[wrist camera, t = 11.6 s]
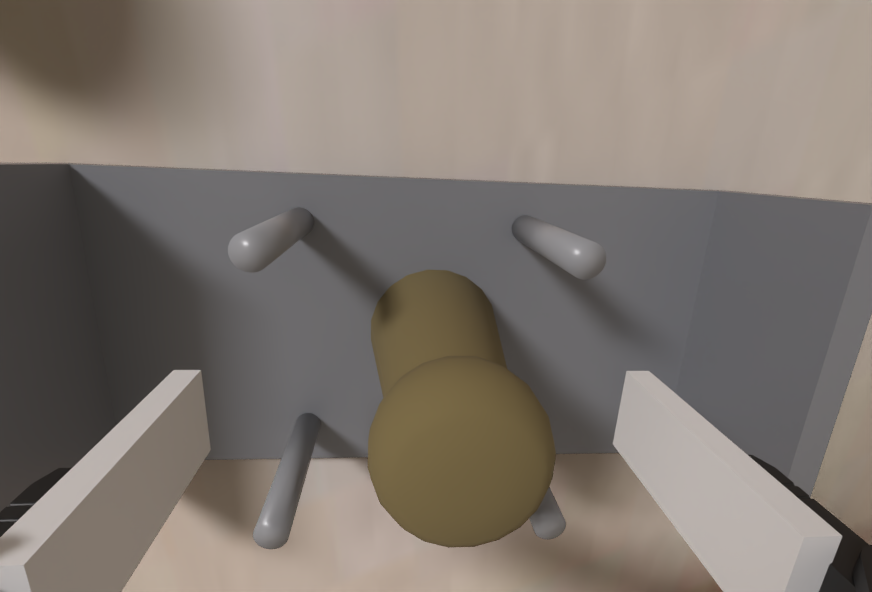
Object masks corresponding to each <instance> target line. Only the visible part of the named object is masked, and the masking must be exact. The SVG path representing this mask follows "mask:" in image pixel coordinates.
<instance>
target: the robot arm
mask: <svg viewBox="0 0 872 592" xmlns="http://www.w3.org/2000/svg"><path fill="white" fill-rule="evenodd" d="M613 445H614V447H615V448H616V449H617V451H618V452H619V453H620V455H621V456H622V457H623V459H624V460H625V461H626V463H627V464H628V465H629V467H630V468H631V469H632V471H633V472H634V473H635V475H636V476H637V477H638V479H639V480H640V481H641V483H642V484H643V485H644V487H645V488H646V489H647V491H648V492H649V493H650V495H651V496H652V497H653V499H654V500H655V501H656V503H657V504H658V505H659V507H660V508H661V509H662V511H663V512H664V513H665V515H666V516H667V517H668V519H669V520H670V521H671V523H672V524H673V525H674V527H675V528H676V529H677V531H678V532H679V533H680V535H681V536H682V537H683V539H684V540H685V541H686V543H687V544H688V545H689V547H690V548H691V549H692V551H693V552H694V553H695V555H696V556H697V557H698V559H699V560H700V561H701V563H702V564H703V565H704V567H705V568H706V569H707V571H708V572H709V573H710V575H711V576H712V577H713V579H714V580H715V581H716V583H717V584H718V585H719V587H720V588H721V589H722V591H723V592H872V545H869V544H868V543H866V542H865V541H864V540H863V539H861V538H860V537H859V536H858V535H857V534H855V533H854V532H853V531H852V530H851V529H849V528H848V527H847V526H846V525H844V524H843V523H842V522H841V521H840V520H838V519H837V518H836V517H835V516H834V515H832V514H831V513H830V512H829V511H827V510H826V509H825V508H824V507H823V506H821V505H820V504H819V503H818V502H817V501H815V500H814V499H810V497H809V495H808V494H807V493H806V492H804V491H803V490H802V489H801V488H800V487H798V486H795V485H794V483H793V482H792V481H791V480H790V479H789V478H787V477H786V476H785V475H784V474H783V473H781V472H780V471H779V470H778V469H776V468H775V467H773V466H772V465H770V464H768V463H766V462H764V461H763V460H761V459H759V458H757V457H755V456H754V455H747V454H746V453H745V452H744V451H742V450H741V449H740V448H739V447H738V446H737V445H735V444H734V443H733V442H732V441H731V440H729V439H728V438H727V437H726V436H725V435H724V434H722V433H721V432H720V431H719V430H718V429H717V428H715V427H714V426H713V425H712V424H711V423H710V422H708V421H707V420H706V419H705V418H704V417H703V416H701V415H700V414H699V413H698V412H697V411H695V410H694V409H693V408H692V407H691V406H690V405H688V404H687V403H686V402H685V401H684V400H683V399H681V398H680V397H679V396H678V395H677V394H676V393H674V392H673V391H672V390H671V389H670V388H669V387H667V386H666V385H665V384H664V383H663V382H661V381H660V380H659V379H658V378H657V377H656V376H654V375H653V374H652V373H651V372H650V371H626V376H625V381H624V386H623V392H622V397H621V402H620V408H619V413H618V418H617V424H616V429H615V434H614V440H613ZM210 450H211V448H210V440H209V431H208V423H207V415H206V407H205V398H204V390H203V382H202V374H201V370H173V371H172V372H171V373H170V374H169V375H168V376H167V377H166V378H165V379H164V380H163V381H162V382H161V383H160V384H159V385H158V386H157V387H156V388H155V389H154V390H152V391H151V392H150V393H149V394H148V395H147V396H146V397H145V398H144V399H143V400H142V401H141V402H140V403H139V404H138V405H137V406H136V407H135V408H134V409H133V410H132V411H131V412H130V413H129V414H128V415H127V416H126V417H125V418H123V419H122V420H121V421H120V422H119V423H118V424H117V425H116V426H115V427H114V428H113V429H112V430H111V431H110V432H109V433H108V434H107V435H106V436H105V437H104V438H103V439H102V440H101V441H100V442H99V443H98V444H97V445H95V446H94V447H93V448H92V449H91V450H90V451H89V452H88V453H87V454H86V455H85V456H84V457H83V458H82V459H81V460H80V461H79V462H78V463H77V464H76V465H75V466H74V467H73V468H58V469H56V470H54V471H53V472H51V473H49V474H48V475H46V476H44V477H42V478H41V479H39V480H37V481H36V482H34V483H32V484H31V485H30V486H29V487H27V488H26V489H25V490H24V491H23V492H22V493H21V494H20V495H19V496H17V497H16V498H15V499H14V500H13V501H12V502H11V503H10V506H9V507H5V508H4V509H3V510H2V511H1V512H0V592H121V591H122V590H123V588H124V587H125V585H126V583H127V582H128V580H129V579H130V577H131V576H132V574H133V572H134V571H135V569H136V568H137V566H138V564H139V563H140V561H141V560H142V558H143V556H144V555H145V553H146V552H147V550H148V549H149V547H150V545H151V544H152V542H153V541H154V539H155V537H156V536H157V534H158V533H159V531H160V530H161V528H162V526H163V525H164V523H165V522H166V520H167V518H168V517H169V515H170V514H171V512H172V510H173V509H174V507H175V506H176V504H177V503H178V501H179V499H180V498H181V496H182V495H183V493H184V491H185V490H186V488H187V487H188V485H189V483H190V482H191V480H192V479H193V477H194V476H195V474H196V472H197V471H198V469H199V468H200V466H201V464H202V463H203V461H204V460H205V458H206V457H207V455H208V453H209V452H210Z"/></svg>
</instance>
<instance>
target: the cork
mask: <svg viewBox="0 0 872 592" xmlns="http://www.w3.org/2000/svg"><path fill="white" fill-rule="evenodd" d="M371 342H372V347H373V352H374V356H375V361H376V366H377V371H378V375H379V380H380V385H381V389H382V394H383V399H382V401H381V403H380V404H379V406H378V409H377V412H376V414H375V417H374V419H373V422H372V424H371V427H370V430H369V438H368V470H369V473H370V477H371V480H372V483H373V486H374V488H375V491H376V494H377V496H378V499H379V502H380V504H381V505H382V506H383V507H384V508H385V509H386V511H387V512H388V513H389V514H390V515H391V516H392V518H393V519H394V520H395V521H396V522H397V523H398V524H399V525H400V526H401V527H402V528H403V529H404V530H406V531H408V532H409V533H411V534H413V535H415V536H416V537H418V538H420V539H421V540H423V541H425V542H429V543H433V544H437V545H441V546H446V547H474V546H478V545H482V544H485V543H489V542H492V541H496V540H499V539H501V538H502V537H504V536H506V535H507V534H509V533H511V532H513V531H514V530H516V529H518V528H520V527H521V526H522V525H523V524H524V523H525V522H526V521H527V520H528V519H529V518H530V517H531V516H532V515H533V514H534V513H535V512H536V511H537V510H538V508H539V506H540V504H541V502H542V500H543V498H544V496H545V494H546V492H547V490H548V488H549V486H550V483H551V480H552V477H553V470H554V464H555V457H556V451H555V444H554V439H553V434H552V430H551V425H550V420H549V416H548V415H547V413H546V411H545V410H544V408H543V407H542V405H541V404H540V402H539V401H538V399H537V398H536V396H535V394H534V393H533V391H532V390H531V388H530V387H529V385H528V384H527V383H525V382H524V381H523V380H521V379H520V378H519V377H517V376H516V375H514V374H513V373H512V372H510V371H509V370H508V369H507V366H506V362H505V358H504V353H503V349H502V345H501V341H500V337H499V333H498V329H497V324H496V320H495V316H494V312H493V308H492V304H491V303H490V301H489V300H488V298H487V297H486V295H485V294H484V292H483V290H482V289H481V288H480V287H478V286H477V285H476V284H475V283H473V282H472V281H471V280H469V279H468V278H467V277H465V276H462V275H459V274H456V273H454V272H451V271H448V270H424V271H420V272H417V273H413V274H409V275H407V276H405V277H404V278H402V279H401V280H399V281H398V282H396V283H394V284H393V285H391V286H390V287H389V288H388V290H387V291H386V292H385V293H384V295H383V296H382V297H381V298H380V300H379V301H378V302H377V305H376V308H375V311H374V313H373V316H372V319H371Z"/></svg>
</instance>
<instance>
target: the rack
mask: <svg viewBox="0 0 872 592" xmlns="http://www.w3.org/2000/svg"><path fill="white" fill-rule="evenodd" d="M424 270H448V271H451V272H454V273H456V274H459V275H462V276H465V277H467V278H468V279H469V280H471V281H472V282H473V283H475V284H476V285H477V286H478V287H480V288H481V289H482V290H483V292H484V294H485V295H486V297H487V298H488V300H489V301H490V303H491V304H492V308H493V312H494V316H495V320H496V324H497V329H498V333H499V337H500V341H501V345H502V349H503V353H504V358H505V362H506V366H507V369H508V370H509V371H510V372H512V373H513V374H514V375H516V376H517V377H519V378H520V379H521V380H523V381H524V382H525V383H527V384H528V385H529V387H530V388H531V390H532V391H533V393H534V394H535V396H536V398H537V399H538V401H539V402H540V404H541V405H542V407H543V408H544V410H545V411H546V413H547V415H548V416H549V420H550V425H551V430H552V434H553V439H554V444H555V451H556V454H580V453H619V452H618V451H617V449H616V448H615V447H614V445H613V440H614V434H615V429H616V424H617V418H618V413H619V408H620V402H621V397H622V392H623V386H624V381H625V376H626V371H650V372H651V373H652V374H653V375H654V376H656V377H657V378H658V379H659V380H660V381H661V382H663V383H664V384H665V385H666V386H667V387H669V388H670V389H671V390H672V391H673V392H674V393H676V394H677V395H678V396H679V397H680V398H681V399H683V400H684V401H685V402H686V403H687V404H688V405H690V406H691V407H692V408H693V409H694V410H695V411H697V412H698V413H699V414H700V415H701V416H703V417H704V418H705V419H706V420H707V421H708V422H710V423H711V424H712V425H713V426H714V427H715V428H717V429H718V430H719V431H720V432H721V433H722V434H724V435H725V436H726V437H727V438H728V439H729V440H731V441H732V442H733V443H734V444H735V445H737V446H738V447H739V448H740V449H741V450H742V451H744V452H745V453H746V454H747V455H754V456H755V457H757V458H759V459H761V460H763V461H764V462H766V463H768V464H770V465H772V466H773V467H775V468H776V469H778V470H779V471H780V472H781V473H783V474H784V475H785V476H786V477H787V478H789V479H790V480H791V481H792V482H793V483H794V485H795V486H798V487H800V488H801V489H802V490H803V491H804V492H806V493H807V494H808V495H809V497H810V496H811V493H812V490H813V487H814V484H815V482H816V479H817V476H818V473H819V470H820V467H821V464H822V461H823V458H824V455H825V452H826V449H827V446H828V443H829V440H830V437H831V434H832V431H833V428H834V425H835V422H836V419H837V416H838V413H839V410H840V407H841V404H842V401H843V398H844V395H845V392H846V389H847V386H848V383H849V380H850V377H851V374H852V371H853V368H854V365H855V362H856V359H857V356H858V353H859V350H860V347H861V344H862V341H863V338H864V335H865V332H866V329H867V326H868V323H869V320H870V317H871V314H872V203H862V202H850V201H839V200H827V199H816V198H804V197H793V196H781V195H770V194H758V193H747V192H735V191H719V190H695V189H671V188H647V187H623V186H599V185H575V184H552V183H528V182H504V181H480V180H456V179H432V178H408V177H384V176H361V175H337V174H313V173H289V172H265V171H241V170H217V169H193V168H170V167H146V166H122V165H98V164H74V163H0V512H1V511H2V510H3V509H4V508H5V507H9V506H10V503H11V502H12V501H13V500H14V499H15V498H16V497H17V496H19V495H20V494H21V493H22V492H23V491H24V490H25V489H26V488H27V487H29V486H30V485H31V484H32V483H34V482H36V481H37V480H39V479H41V478H42V477H44V476H46V475H48V474H49V473H51V472H53V471H54V470H56V469H58V468H73V467H74V466H75V465H76V464H77V463H78V462H79V461H80V460H81V459H82V458H83V457H84V456H85V455H86V454H87V453H88V452H89V451H90V450H91V449H92V448H93V447H94V446H95V445H97V444H98V443H99V442H100V441H101V440H102V439H103V438H104V437H105V436H106V435H107V434H108V433H109V432H110V431H111V430H112V429H113V428H114V427H115V426H116V425H117V424H118V423H119V422H120V421H121V420H122V419H123V418H125V417H126V416H127V415H128V414H129V413H130V412H131V411H132V410H133V409H134V408H135V407H136V406H137V405H138V404H139V403H140V402H141V401H142V400H143V399H144V398H145V397H146V396H147V395H148V394H149V393H150V392H151V391H152V390H154V389H155V388H156V387H157V386H158V385H159V384H160V383H161V382H162V381H163V380H164V379H165V378H166V377H167V376H168V375H169V374H170V373H171V372H172V371H173V370H201V374H202V382H203V390H204V398H205V407H206V415H207V423H208V431H209V440H210V448H211V450H210V452H209V453H208V455H207V457H206V458H205V460H227V459H281V461H280V464H279V467H278V469H277V472H276V475H275V477H274V480H273V482H272V485H271V488H270V490H269V493H268V495H267V498H266V501H265V503H264V506H263V508H262V511H261V514H260V516H259V519H258V521H257V524H256V527H255V529H254V532H253V538H254V540H255V542H256V543H257V544H258V545H259V546H261V547H263V548H266V549H277V548H279V547H281V546H283V545H284V544H285V543H286V542H287V540H288V537H289V534H290V530H291V527H292V523H293V520H294V516H295V513H296V509H297V506H298V502H299V499H300V495H301V492H302V488H303V485H304V481H305V478H306V474H307V471H308V467H309V464H310V460H311V458H345V457H368V438H369V430H370V427H371V424H372V422H373V419H374V417H375V414H376V412H377V409H378V406H379V404H380V403H381V401H382V399H383V394H382V389H381V385H380V380H379V375H378V371H377V366H376V361H375V356H374V352H373V347H372V342H371V319H372V316H373V313H374V311H375V308H376V305H377V302H378V301H379V300H380V298H381V297H382V296H383V295H384V293H385V292H386V291H387V290H388V288H389V287H390V286H391V285H393V284H394V283H396V282H398V281H399V280H401V279H402V278H404V277H405V276H407V275H409V274H413V273H417V272H420V271H424ZM530 521H531V524H532V526H533V529H534V532H535V534H536V535H537V536H538V537H540V538H542V539H553V538H556V537H558V536H559V535H560V534H561V533H562V532H563V531H564V529H565V526H566V522H565V519H564V517H563V515H562V513H561V511H560V509H559V506H558V504H557V502H556V500H555V498H554V496H553V494H552V492H551V490H550V487H549V488H548V490H547V492H546V494H545V496H544V498H543V500H542V502H541V504H540V506H539V508H538V510H537V511H536V512H535V513H534V514H533V515H532V516H531V517H530Z"/></svg>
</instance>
